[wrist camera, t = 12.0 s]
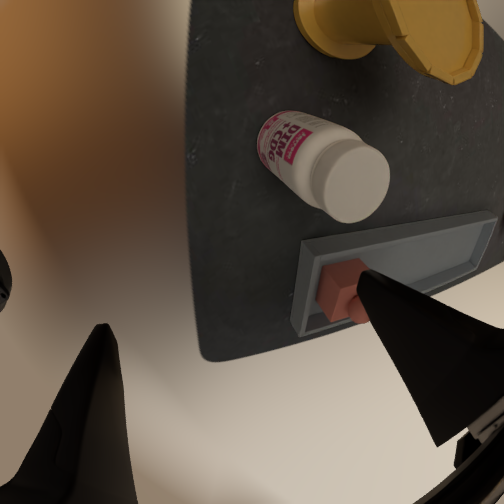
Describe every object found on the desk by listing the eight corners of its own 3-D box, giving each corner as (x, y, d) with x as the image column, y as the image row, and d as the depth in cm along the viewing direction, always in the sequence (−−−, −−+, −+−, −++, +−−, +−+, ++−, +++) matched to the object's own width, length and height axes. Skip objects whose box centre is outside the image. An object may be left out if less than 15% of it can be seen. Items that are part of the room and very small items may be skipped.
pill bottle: (256, 108, 17) (325, 133, 10) (319, 111, 18) (404, 142, 12) (253, 175, 20) (310, 235, 13) (312, 172, 21) (384, 225, 14)
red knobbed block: (314, 299, 29) (343, 341, 24) (322, 265, 26) (356, 308, 22) (349, 290, 30) (379, 328, 25) (359, 257, 27) (394, 295, 23)
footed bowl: (281, 57, 15) (382, 54, 8) (286, -42, 11) (379, -90, 3) (376, 76, 18) (479, 100, 10) (380, -10, 13) (480, -15, 6)
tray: (289, 320, 30) (298, 337, 28) (301, 240, 24) (314, 256, 22) (467, 261, 39) (476, 269, 38) (487, 209, 34) (498, 217, 32)
